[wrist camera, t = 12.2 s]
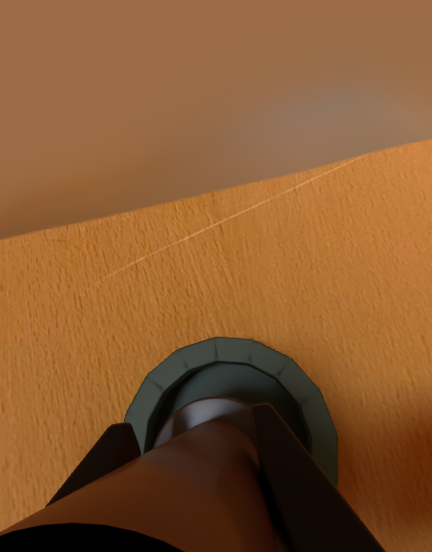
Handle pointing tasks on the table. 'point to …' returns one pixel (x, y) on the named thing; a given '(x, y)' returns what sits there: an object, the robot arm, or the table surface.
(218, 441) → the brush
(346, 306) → the table surface
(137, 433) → the teal round holder
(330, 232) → the table surface
